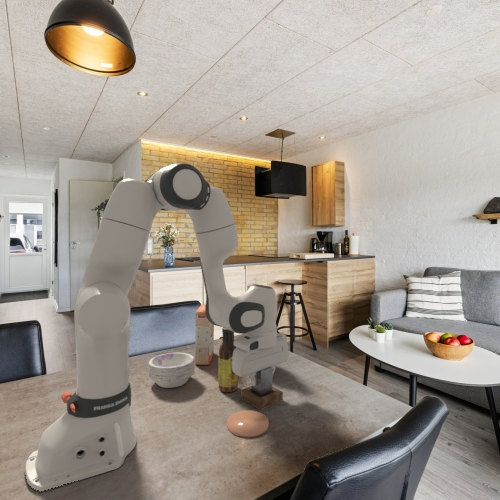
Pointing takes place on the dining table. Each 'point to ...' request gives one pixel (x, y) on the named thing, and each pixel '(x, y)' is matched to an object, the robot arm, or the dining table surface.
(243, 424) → the peach domed puck
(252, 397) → the socket block
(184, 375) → the paper bowls
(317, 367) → the dining table surface
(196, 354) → the cracker box
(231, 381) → the sauce bottle
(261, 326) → the robot arm
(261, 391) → the steel peg
